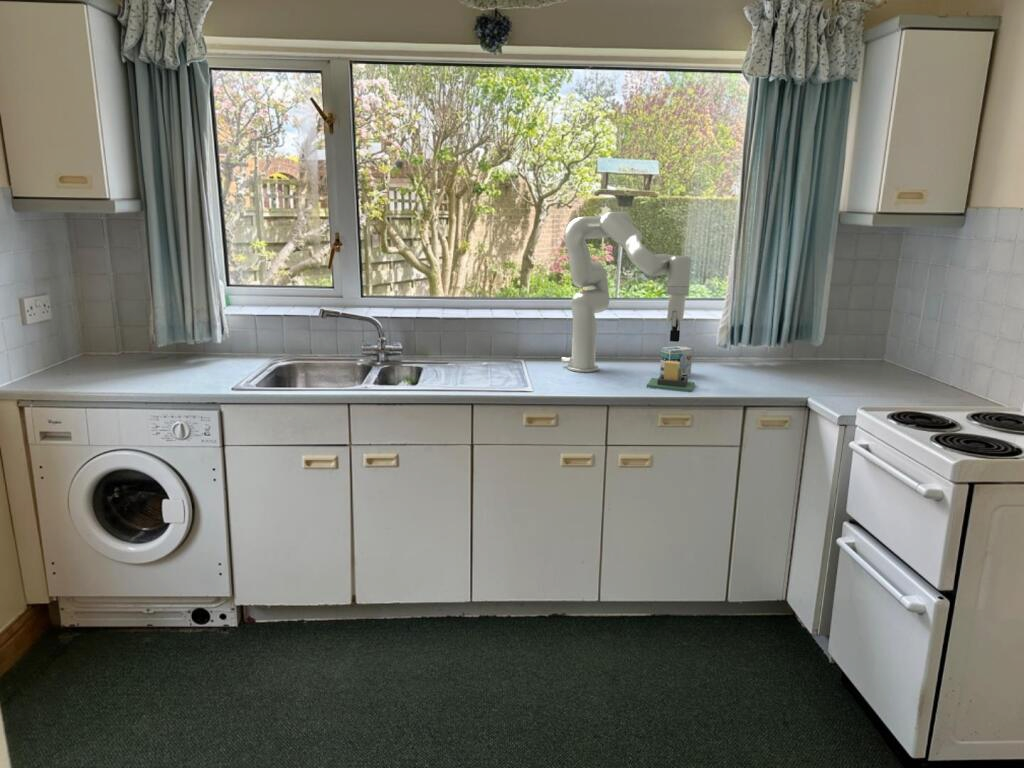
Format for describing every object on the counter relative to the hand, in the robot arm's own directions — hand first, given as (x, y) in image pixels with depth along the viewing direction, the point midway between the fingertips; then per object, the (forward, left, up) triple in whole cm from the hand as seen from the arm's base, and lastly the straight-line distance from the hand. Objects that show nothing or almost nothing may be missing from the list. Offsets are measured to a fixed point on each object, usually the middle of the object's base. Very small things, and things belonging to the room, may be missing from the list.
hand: (674, 341), depth 265 cm
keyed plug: (0, 0, -16) cm, 16 cm away
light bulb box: (-1, +20, -17) cm, 26 cm away
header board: (0, 0, -17) cm, 17 cm away
